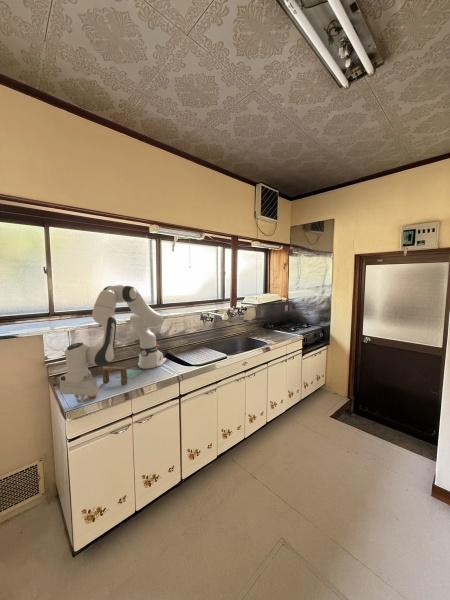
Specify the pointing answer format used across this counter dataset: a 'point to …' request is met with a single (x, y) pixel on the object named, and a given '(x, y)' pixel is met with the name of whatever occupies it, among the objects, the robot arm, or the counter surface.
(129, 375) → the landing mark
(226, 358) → the counter surface
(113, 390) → the counter surface
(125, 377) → the bridge
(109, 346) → the robot arm
